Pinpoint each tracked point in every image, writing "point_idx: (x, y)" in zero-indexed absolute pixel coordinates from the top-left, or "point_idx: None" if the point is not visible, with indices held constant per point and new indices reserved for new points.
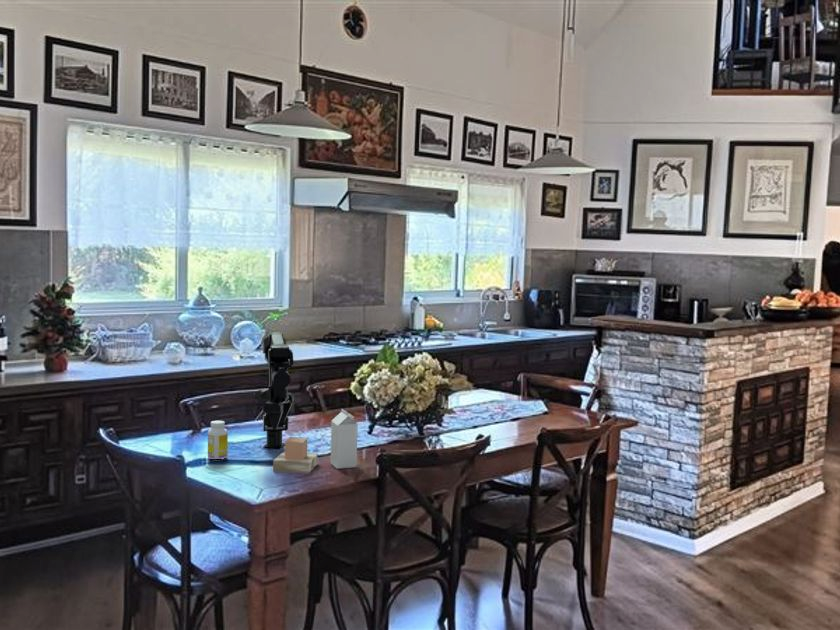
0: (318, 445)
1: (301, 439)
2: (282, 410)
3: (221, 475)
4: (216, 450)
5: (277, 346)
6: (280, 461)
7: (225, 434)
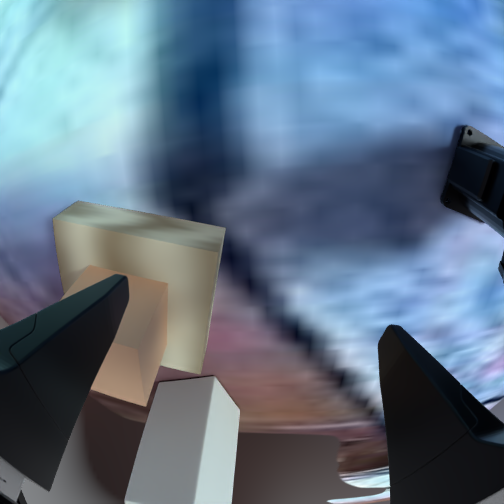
0: (445, 332)
1: (111, 385)
2: (428, 440)
3: (21, 31)
4: None
5: None
6: (56, 248)
7: None
